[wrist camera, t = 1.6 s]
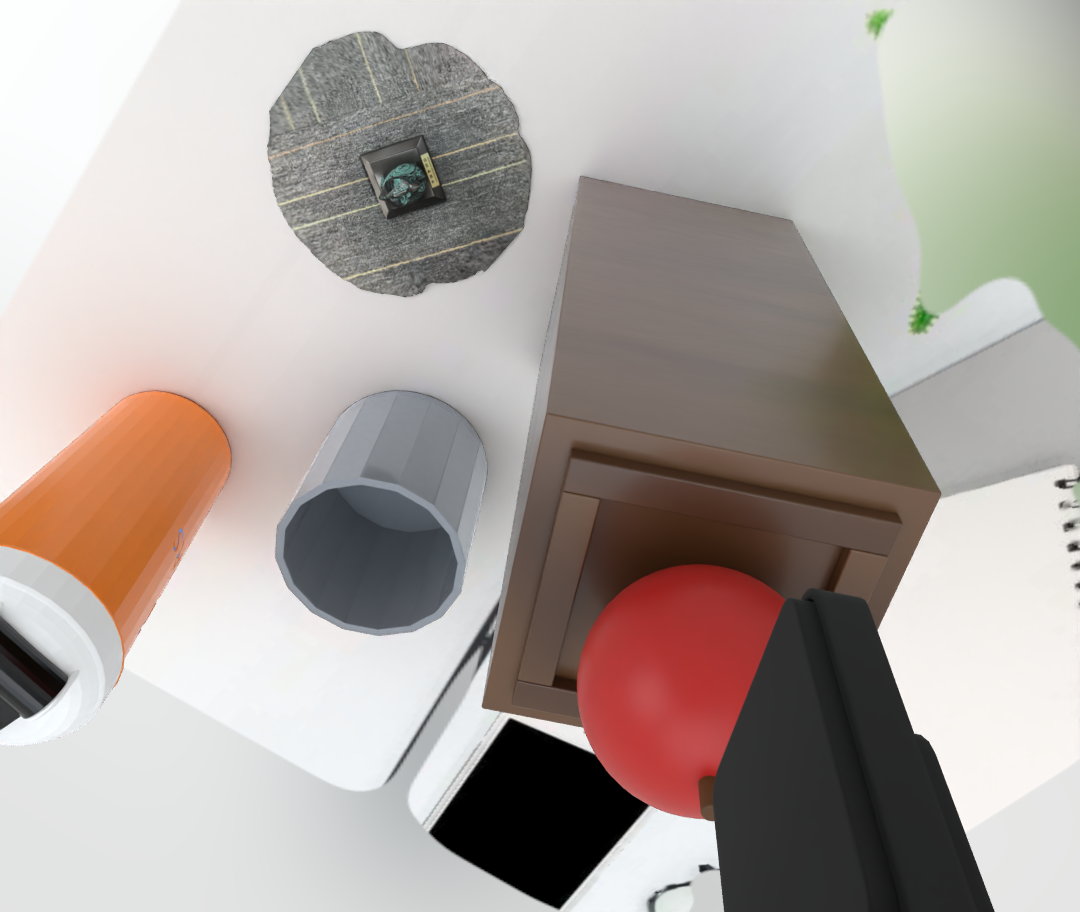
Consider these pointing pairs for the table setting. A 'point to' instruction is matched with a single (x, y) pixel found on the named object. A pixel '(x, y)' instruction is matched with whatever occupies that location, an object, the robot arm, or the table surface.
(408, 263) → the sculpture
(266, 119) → the table surface
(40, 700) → the shaker bottle
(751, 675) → the apple
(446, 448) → the steel cup
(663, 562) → the crate
